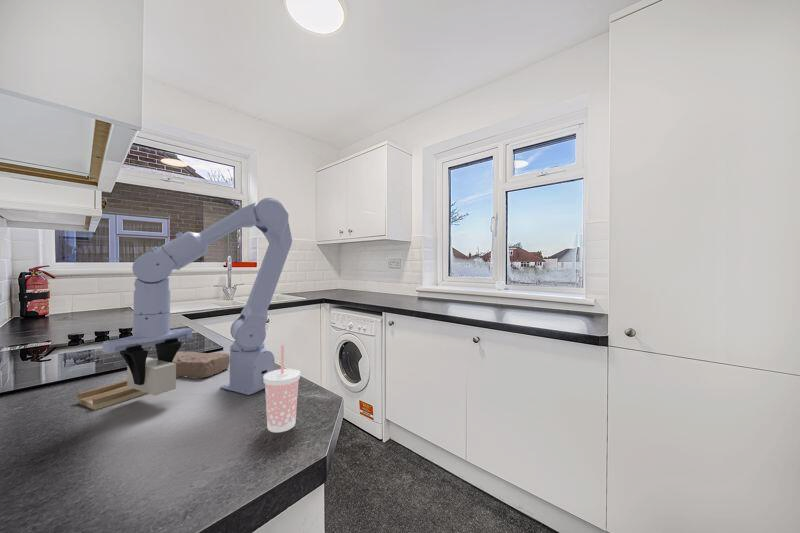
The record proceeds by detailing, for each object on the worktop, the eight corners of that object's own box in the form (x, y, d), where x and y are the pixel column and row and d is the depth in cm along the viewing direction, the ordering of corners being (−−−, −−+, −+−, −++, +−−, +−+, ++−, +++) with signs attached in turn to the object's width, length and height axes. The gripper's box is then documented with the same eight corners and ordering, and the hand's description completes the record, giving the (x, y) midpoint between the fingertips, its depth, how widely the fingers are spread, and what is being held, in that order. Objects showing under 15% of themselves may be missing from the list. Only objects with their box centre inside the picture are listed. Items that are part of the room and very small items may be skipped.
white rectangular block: (175, 388, 60) (176, 363, 60) (155, 395, 57) (156, 368, 57) (147, 380, 64) (147, 357, 64) (127, 386, 61) (127, 361, 61)
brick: (149, 375, 77) (150, 357, 77) (179, 365, 85) (179, 348, 86) (206, 381, 74) (206, 362, 74) (230, 369, 83) (231, 352, 83)
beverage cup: (271, 416, 56) (272, 341, 56) (304, 416, 56) (305, 341, 56) (255, 434, 50) (256, 350, 50) (292, 435, 50) (293, 350, 50)
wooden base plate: (159, 389, 68) (160, 380, 68) (94, 410, 58) (95, 399, 58) (142, 384, 71) (142, 375, 71) (77, 403, 61) (77, 393, 61)
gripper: (178, 307, 69) (178, 367, 69) (94, 316, 56) (93, 390, 56) (198, 309, 66) (197, 371, 66) (114, 319, 53) (113, 397, 53)
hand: (151, 380), depth 61 cm, fingers closed on white rectangular block, 3 cm apart
